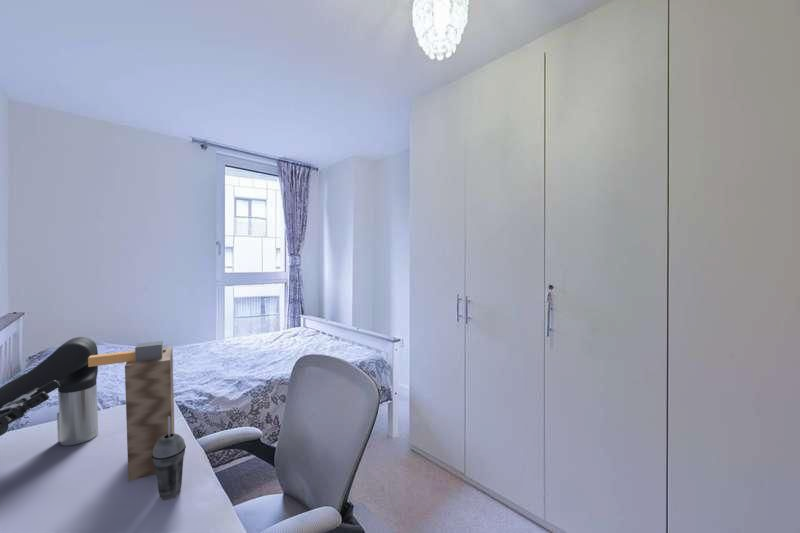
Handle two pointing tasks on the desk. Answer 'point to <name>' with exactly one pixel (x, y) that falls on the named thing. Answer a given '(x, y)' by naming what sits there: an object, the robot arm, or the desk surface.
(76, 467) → the desk surface
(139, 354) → the mallet
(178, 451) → the beverage cup
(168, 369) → the brown wooden tall block
